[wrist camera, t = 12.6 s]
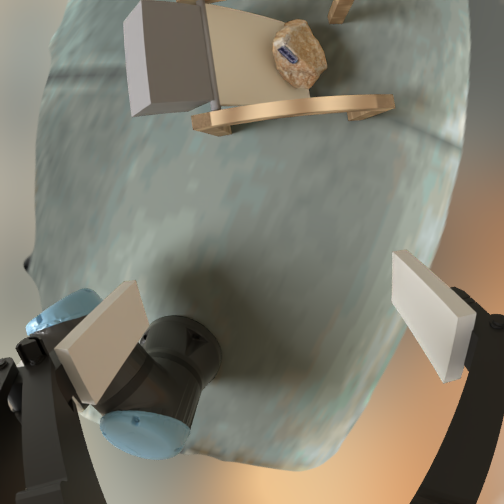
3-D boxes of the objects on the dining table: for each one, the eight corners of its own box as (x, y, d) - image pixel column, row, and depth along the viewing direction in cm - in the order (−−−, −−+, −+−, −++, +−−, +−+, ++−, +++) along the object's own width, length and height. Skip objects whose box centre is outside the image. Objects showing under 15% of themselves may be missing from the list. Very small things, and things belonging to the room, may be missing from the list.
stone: (253, 47, 31) (281, 35, 28) (290, 19, 34) (315, 9, 31) (290, 99, 36) (319, 92, 33) (319, 64, 39) (344, 57, 36)
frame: (218, 136, 43) (193, 129, 30) (202, 31, 38) (175, -8, 24) (361, 120, 40) (395, 108, 27) (340, 15, 35) (360, -28, 22)
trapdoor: (132, 126, 29) (152, 113, 25) (123, 15, 24) (141, -8, 21) (285, 116, 43) (312, 110, 39) (271, 33, 39) (296, 23, 35)
